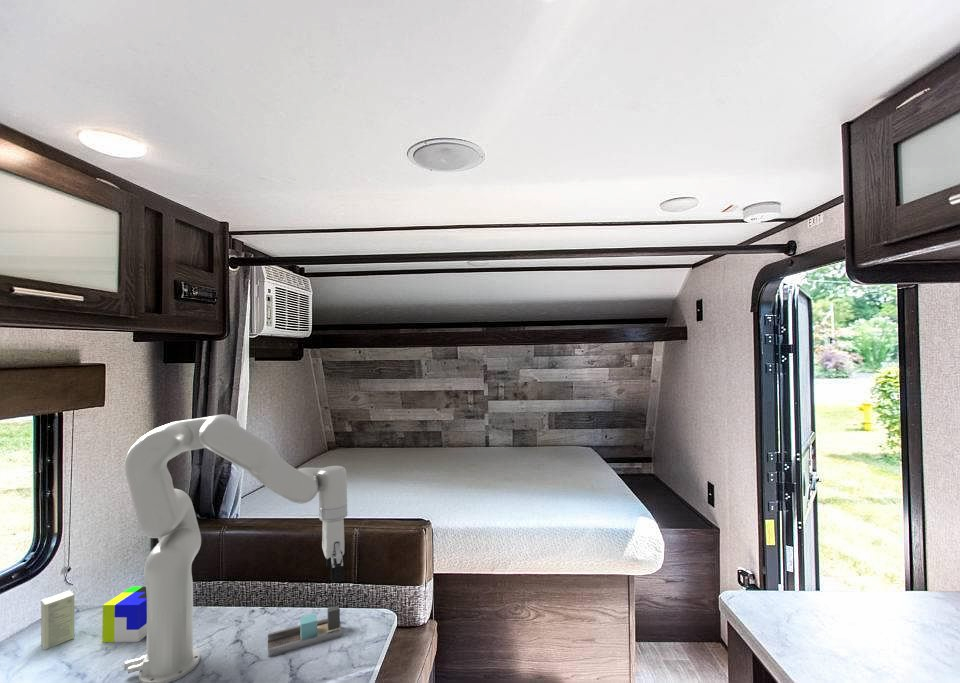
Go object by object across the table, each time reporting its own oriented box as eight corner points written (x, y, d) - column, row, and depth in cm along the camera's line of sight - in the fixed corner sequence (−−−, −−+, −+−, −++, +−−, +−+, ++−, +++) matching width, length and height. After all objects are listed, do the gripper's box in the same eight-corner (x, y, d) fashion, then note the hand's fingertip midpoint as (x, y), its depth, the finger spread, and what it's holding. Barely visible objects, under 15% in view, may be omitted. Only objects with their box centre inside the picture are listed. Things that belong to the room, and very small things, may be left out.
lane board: (268, 660, 114) (268, 650, 114) (267, 642, 121) (267, 633, 121) (341, 639, 122) (341, 630, 122) (337, 624, 129) (337, 615, 129)
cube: (301, 640, 120) (301, 624, 120) (300, 631, 123) (300, 616, 123) (317, 635, 121) (317, 620, 121) (315, 627, 125) (315, 613, 125)
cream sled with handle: (301, 644, 119) (301, 622, 119) (300, 633, 124) (300, 611, 124) (340, 633, 123) (340, 612, 123) (337, 623, 128) (337, 602, 128)
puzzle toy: (138, 642, 123) (138, 604, 123) (102, 642, 123) (102, 605, 124) (164, 620, 133) (164, 586, 133) (131, 621, 133) (131, 586, 133)
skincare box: (70, 633, 128) (71, 589, 128) (74, 638, 125) (75, 593, 125) (39, 644, 122) (40, 599, 123) (43, 650, 120) (44, 604, 120)
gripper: (315, 505, 133) (317, 564, 132) (323, 524, 117) (324, 591, 116) (342, 501, 136) (343, 558, 135) (352, 518, 120) (354, 583, 120)
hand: (334, 573), depth 126 cm, fingers open, 9 cm apart
